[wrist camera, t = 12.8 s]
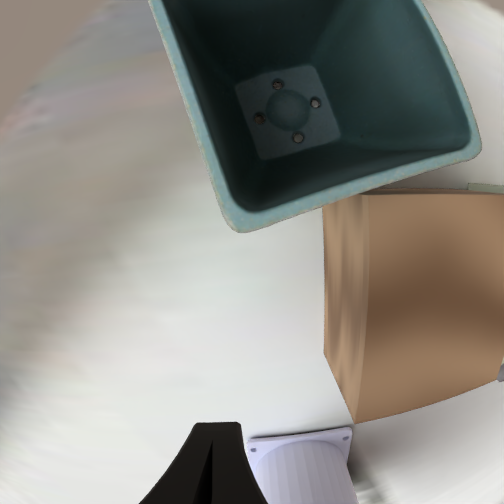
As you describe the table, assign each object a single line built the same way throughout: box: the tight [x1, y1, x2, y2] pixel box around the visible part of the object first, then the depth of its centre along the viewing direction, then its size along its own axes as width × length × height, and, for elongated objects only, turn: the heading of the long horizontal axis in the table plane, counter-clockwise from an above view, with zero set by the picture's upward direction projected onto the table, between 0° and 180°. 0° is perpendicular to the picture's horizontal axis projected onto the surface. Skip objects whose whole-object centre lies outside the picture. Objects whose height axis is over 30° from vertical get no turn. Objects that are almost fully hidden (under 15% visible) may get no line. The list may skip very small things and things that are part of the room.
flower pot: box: [148, 0, 482, 233], centre depth 11 cm, size 9×9×9 cm
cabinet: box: [322, 188, 504, 424], centre depth 14 cm, size 10×9×7 cm
